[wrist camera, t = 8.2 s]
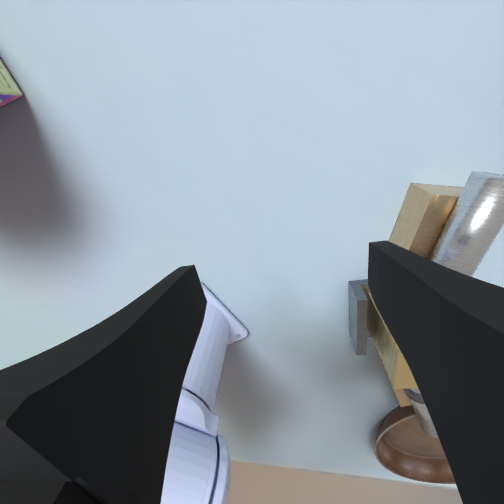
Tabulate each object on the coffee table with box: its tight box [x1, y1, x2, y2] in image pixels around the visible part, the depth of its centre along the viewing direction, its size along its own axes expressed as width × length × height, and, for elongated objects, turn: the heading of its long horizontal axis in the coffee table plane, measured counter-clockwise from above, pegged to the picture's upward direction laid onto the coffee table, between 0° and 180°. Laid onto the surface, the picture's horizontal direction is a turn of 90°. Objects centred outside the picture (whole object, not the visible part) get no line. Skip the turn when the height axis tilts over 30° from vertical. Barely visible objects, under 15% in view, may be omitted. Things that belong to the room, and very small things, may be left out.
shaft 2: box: [389, 172, 504, 277], centre depth 16 cm, size 8×4×6 cm, turn 176°
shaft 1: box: [387, 374, 439, 438], centre depth 24 cm, size 8×4×6 cm, turn 26°
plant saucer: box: [374, 405, 456, 484], centre depth 30 cm, size 18×18×3 cm
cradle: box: [349, 279, 371, 355], centre depth 22 cm, size 6×7×3 cm
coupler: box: [368, 295, 418, 389], centre depth 20 cm, size 6×4×6 cm
